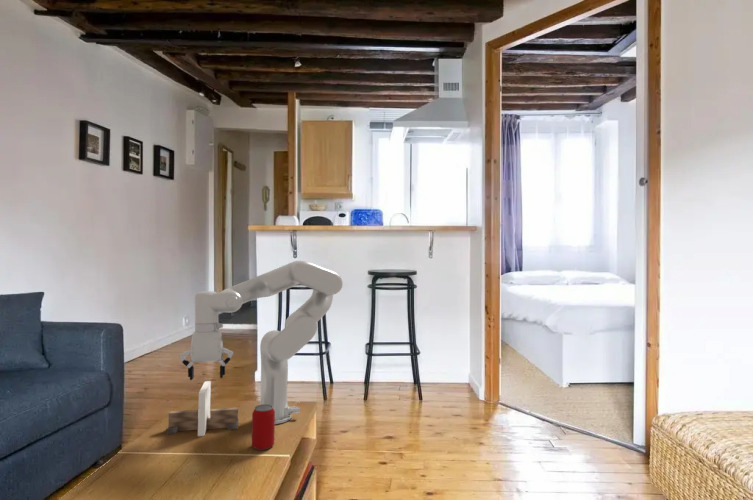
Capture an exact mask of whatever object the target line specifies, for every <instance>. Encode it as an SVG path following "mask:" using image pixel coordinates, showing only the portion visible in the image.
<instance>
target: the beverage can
mask: <svg viewBox="0 0 753 500" xmlns="http://www.w3.org/2000/svg"><path fill="white" fill-rule="evenodd" d="M251 416H252V418H251V446H252V447H253V448H254V449H255V450H258V451H259V450H260V451H262V450H268V449H270V448H271V447H273V445H274V444H275V431H276V430H275V429H276V428H275V426H276V424H275V411H274V409H273V406H272V405H267V404H264V405H260V404H258V405H256V406H255V407H254V408H253V411H252V415H251Z"/></svg>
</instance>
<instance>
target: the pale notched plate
mask: <svg viewBox="0 0 753 500" xmlns="http://www.w3.org/2000/svg"><path fill="white" fill-rule="evenodd" d="M211 389H212V381H211V380H208V381H207V380H206V381H204V382H203V384H202V386H201V388H200V390H199V392H198V404H197V405H198V406H197V407H198V409H197V410H198V430H197V437H204V436H205V434H206V432H207V429H206V423H207V418H211V393H212V392H211V391H212V390H211Z"/></svg>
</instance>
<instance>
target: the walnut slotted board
mask: <svg viewBox="0 0 753 500" xmlns="http://www.w3.org/2000/svg"><path fill="white" fill-rule="evenodd" d="M238 426H239V407H223V408H210V418H207V423H206V430H211V429H214V430H215V429H226V428H227V431H228V430H229V431H230V430H237V429H238ZM196 430H197V431H198V409H189V410H171V411H170V410H169V412H168V427H166V434H167V435H169V434H177V433H178V432H181V431H184V432H185V431H196Z"/></svg>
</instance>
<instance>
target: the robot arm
mask: <svg viewBox="0 0 753 500" xmlns="http://www.w3.org/2000/svg"><path fill="white" fill-rule="evenodd" d="M298 285H302V286H305V287H306V288H309V289H312V293H311V296H310V297H309V298H308V299H307V300H306V301H305V302H304V303H303V304H302V305H301V306H300V307H298V308H297V309H296V310H294V311H293V312H292V313H291V314H290V315H288V317H287V318H286V319H285V323H284V327H283V329H282V330H281V331H280V330H278V329H277V330H275V329H273V330H270V331H268V332H266V333H265V334H264V335H263V336H262V337H261V340H260V345H259V350H260V397H259V398H260V400H259V401H260V403H259V405H264V404H267V405H272V406H273V409H274V411H275V425H278V424H283V423H286V422H288V421H289V420H291V419H292V414H300V413H301V409H300V407H297V406H293V405H292V406H290V405H289V403H288V382H289V378H288V377H289V372H288V371H289V364H288V363H289V362H288V361H289V360H290V359H291V358H292V357H294V356H295V355H296V354H297V353H298V352H299V351H300V350H301V349H303V347H305V346H306V345H307V344H308V343H309V342H310V341H312V339H313V338H314V336H315V335H316V333H317V331H318V322H319V321H320V320H321V319H322V318H323V317H324V316H325V315H326V314H327V313H328V312H329V310H330V309H331V306H332V304H333V300H334V295H336V294H338V293H340V291H341V290H342V288H343V279H342V277H341V275H339V274H338V273H337V272H335V271H333V270H330V269H328V268H324V267H322V266H319V265H316V264H315V263H311V262H309V261H306V260H294V261H292V262H289V263H287V264H284V265H282V266H279V267H277V268H274V269H272V270H270V271H267V272H265V273H261V274H260V275H257V276H255V277H253V278H251V279H248V280H245V281H242V282H240V283H238V284H235V285H232V286H230V287H227V288H225V289H223V290H222V291H221V292H217V291H211V290H209V291H199V292H196V293H195V295H194V331H193V332H192V336H191V340H190V341H191V342H190V349H188V350H186V351H183V353H180V354H179V359H180V361H181V362H182V364H183V365H184V366H185V367H186V368H187V377H188V378H189V381H192V380H193V379H194V378H195V369H194V368H195V367H194V364H195V363H205V362H206V363H207V362H209V363H210V362H218V363H219V364H220V366H219V378H220V379H223V377H224V375H226V365H227V364H228V363H229V362H230V361H231V358H232V356H233V355H234V351H233V350H230V349H228V348H226V347H224V343H223V336H222V335H223V333H222V331H221V330H220V329H223V327H224V324H223V323H220V322H219V313H235V312H238V311H239V310H240V309H241V308H242V306H243V304H245V303H247V302H250V301H253V300H256V299H261V298H267V297H272V296H274V295H277V294H279V293H281V292H283V291H286V290H288V289H291V288H293V287H295V286H298ZM224 354H227V357H226V358H225V359H224V358H223V357H224V356H223V355H224ZM188 355H190V356H189V357H190V361H189V360H188V359H186V357H187V356H188Z"/></svg>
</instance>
